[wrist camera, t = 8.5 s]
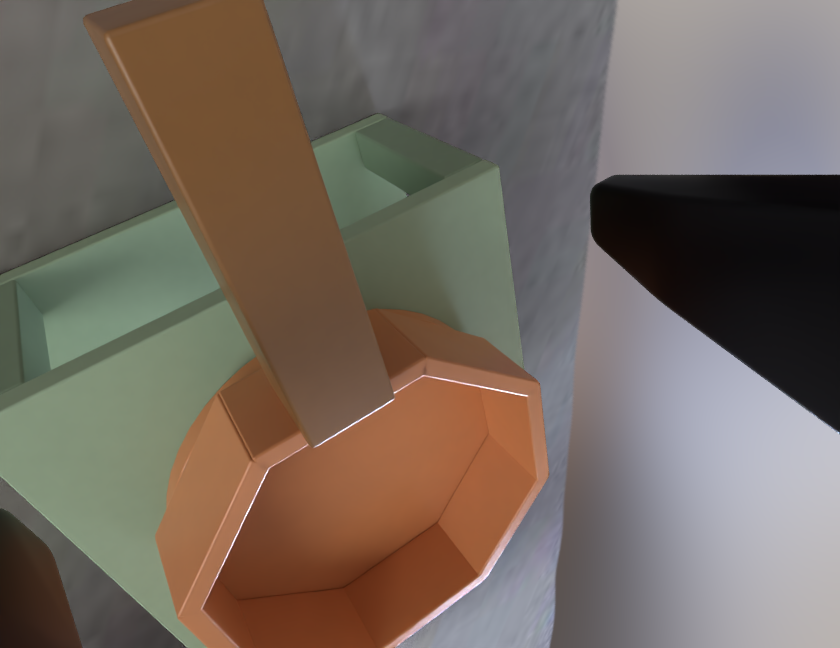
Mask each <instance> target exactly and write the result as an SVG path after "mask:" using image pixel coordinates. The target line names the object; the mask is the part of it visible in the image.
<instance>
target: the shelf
mask: <svg viewBox="0 0 840 648" xmlns="http://www.w3.org/2000/svg"><path fill="white" fill-rule="evenodd" d="M311 145H312V148H313V151H314V154H315V157H316V160H317V163H318V166H319V169H320V172H321V175H322V178H323V181H324V184H325V187H326V190H327V193H328V196H329V199H330V202H331V205H332V208H333V211H334V214H335V217H336V220H337V223H338V226H339V229H340V232H341V235H342V238H343V241H344V244H345V247H346V250H347V253H348V256H349V259H350V262H351V265H352V268H353V271H354V274H355V277H356V280H357V283H358V286H359V289H360V292H361V295H362V298H363V301H364V304H365V307H366V310H371V309H375V308H378V309H396V310H407V311H412V312H417V313H421V314H425V315H427V316H430V317H432V318H435V319H438V320H440V321H441V322H443V323H444V324H446V325H448V326H449V327H451V328H453V329H454V330H457V331H460V332H464V333H467V334H471V335H474V336H478V337H482V338H484V339H486V340H487V341H488V342H490V343H491V344H492V345H493V346H495V347H496V348H497V349H498V350H500V351H501V352H502V353H503V354H505V355H506V356H507V357H508V358H510V359H511V360H512V361H513V362H515V363H516V364H517V365H518V366H520V367H521V368H522V369H523V370H524V364H523V356H522V348H521V340H520V332H519V324H518V316H517V308H516V300H515V292H514V284H513V276H512V268H511V260H510V252H509V244H508V236H507V228H506V220H505V212H504V204H503V196H502V188H501V180H500V172H499V166H498V165H496V164H494V163H491V162H489V161H487V160H482V159H481V158H479V157H477V156H474V155H472V154H470V153H467V152H465V151H463V150H461V149H458V148H456V147H454V146H451V145H449V144H447V143H445V142H442V141H440V140H438V139H436V138H433V137H431V136H429V135H426V134H424V133H422V132H420V131H417V130H415V129H413V128H410V127H408V126H406V125H404V124H401V123H399V122H397V121H394V120H392V119H390V118H387V117H386V116H384V115H382V114H379V113H377V114H375V115H373V116H370V117H368V118H366V119H363V120H361V121H359V122H356V123H354V124H352V125H349V126H347V127H345V128H342V129H340V130H338V131H335V132H333V133H331V134H328V135H326V136H324V137H321V138H319V139H317V140H314V141H312V142H311ZM405 192H406V193H408V194H409V195H410V196H408V197H406V193H405ZM255 357H256V355H255V353H254V352H253V350H252V348H251V346H250V344H249V342H248V340H247V338H246V336H245V334H244V332H243V330H242V328H241V326H240V324H239V323H238V321H237V319H236V317H235V315H234V313H233V311H232V309H231V307H230V305H229V303H228V301H227V299H226V297H225V296H224V294H223V292H222V290H221V288H220V286H219V284H218V282H217V280H216V278H215V276H214V274H213V272H212V270H211V269H210V267H209V265H208V263H207V261H206V259H205V257H204V255H203V253H202V251H201V249H200V247H199V245H198V243H197V242H196V240H195V238H194V236H193V234H192V232H191V230H190V228H189V226H188V224H187V222H186V220H185V218H184V216H183V214H182V213H181V211H180V209H179V207H178V205H177V203H176V201H175V200H174V201H172V202H170V203H167V204H165V205H163V206H160V207H158V208H156V209H153V210H151V211H149V212H146V213H144V214H141V215H139V216H137V217H134V218H132V219H130V220H127V221H125V222H123V223H120V224H118V225H116V226H113V227H111V228H109V229H106V230H104V231H102V232H99V233H97V234H95V235H92V236H90V237H88V238H85V239H83V240H81V241H78V242H76V243H74V244H71V245H69V246H67V247H64V248H62V249H60V250H57V251H55V252H53V253H50V254H48V255H46V256H43V257H41V258H39V259H36V260H34V261H32V262H29V263H27V264H25V265H22V266H20V267H18V268H15V269H13V270H11V271H8V272H6V273H4V274H1V275H0V476H1V477H2V478H3V479H4V480H5V481H6V482H7V483H8V484H9V485H11V486H12V487H13V488H14V489H15V490H16V491H17V492H18V493H19V494H20V495H21V496H23V497H24V498H25V499H26V500H27V501H28V502H29V503H30V504H31V505H32V506H33V507H34V508H36V509H37V510H38V511H39V512H40V513H41V514H42V515H43V516H44V517H45V518H46V519H48V520H49V521H50V522H51V523H52V524H53V525H54V526H55V527H56V528H57V529H58V530H60V531H61V532H62V533H63V534H64V535H65V536H66V537H67V538H68V539H69V540H70V541H72V542H73V543H74V544H75V545H76V546H77V547H78V548H79V549H80V550H81V551H82V552H84V553H85V554H86V555H87V556H88V557H89V558H90V559H91V560H92V561H93V562H94V563H96V564H97V565H98V566H99V567H100V568H101V569H102V570H103V571H104V572H105V573H106V574H107V575H109V576H110V577H111V578H112V579H113V580H114V581H115V582H116V583H117V584H118V585H119V586H121V587H122V588H123V589H124V590H125V591H126V592H127V593H128V594H129V595H130V596H131V597H133V598H134V599H135V600H136V601H137V602H138V603H139V604H140V605H141V606H142V607H143V608H145V609H146V610H147V611H148V612H149V613H150V614H151V615H152V616H153V617H154V618H155V619H157V620H158V621H159V622H160V623H161V624H162V625H163V626H164V627H165V628H166V629H167V630H169V631H170V632H171V633H172V634H173V635H174V636H175V637H176V638H177V639H178V640H179V641H181V642H182V643H183V644H184V645H185V646H186V647H187V648H207V647H206V646H205V645H204V644H203V643H202V642H201V641H200V640H199V639H198V638H197V637H196V636H195V635H194V634H193V633H192V632H191V631H190V630H189V629H188V628H187V627H186V626H185V625H184V624H182V623H181V622H180V621H179V620H178V618H177V615H176V611H175V608H174V604H173V601H172V597H171V593H170V590H169V586H168V583H167V579H166V576H165V572H164V569H163V565H162V561H161V558H160V554H159V551H158V547H157V544H156V540H155V534H156V532H157V530H158V527H159V525H160V523H161V521H162V518H163V516H164V514H165V511H166V496H167V489H168V484H169V478H170V473H171V470H172V467H173V464H174V461H175V459H176V456H177V453H178V450H179V448H180V446H181V444H182V442H183V440H184V438H185V436H186V434H187V432H188V430H189V429H190V427H191V425H192V424H193V422H194V421H195V420H196V418H197V417H198V415H199V414H200V412H201V411H202V409H203V408H204V406H205V405H206V404H207V403H208V402H209V400H210V399H211V398H212V397H213V396H214V395H215V394H216V392H217V391H218V390H219V389H220V388H221V387H222V385H223V384H225V383H226V382H227V381H228V380H229V379H230V378H231V377H232V376H233V375H234V374H235V373H236V372H237V371H239V370H240V369H241V368H242V367H243V366H244V365H245V364H247V363H248V362H249V361H251V360H252V359H253V358H255Z"/></svg>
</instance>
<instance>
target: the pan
mask: <svg viewBox="0 0 840 648" xmlns="http://www.w3.org/2000/svg"><path fill="white" fill-rule="evenodd" d="M83 22H84V25H85V27H86V29H87V31H88V33H89V35H90V37H91V39H92V41H93V43H94V45H95V47H96V49H97V50H98V52H99V54H100V56H101V58H102V60H103V62H104V64H105V66H106V68H107V70H108V72H109V74H110V76H111V77H112V79H113V81H114V83H115V85H116V87H117V89H118V91H119V93H120V95H121V97H122V99H123V101H124V103H125V104H126V106H127V108H128V110H129V112H130V114H131V116H132V118H133V120H134V122H135V124H136V126H137V128H138V130H139V132H140V133H141V135H142V137H143V139H144V141H145V143H146V145H147V147H148V149H149V151H150V153H151V155H152V157H153V159H154V160H155V162H156V164H157V166H158V168H159V170H160V172H161V174H162V176H163V178H164V180H165V182H166V184H167V186H168V187H169V189H170V191H171V193H172V195H173V197H174V199H175V201H176V203H177V205H178V207H179V209H180V211H181V213H182V214H183V216H184V218H185V220H186V222H187V224H188V226H189V228H190V230H191V232H192V234H193V236H194V238H195V240H196V242H197V243H198V245H199V247H200V249H201V251H202V253H203V255H204V257H205V259H206V261H207V263H208V265H209V267H210V269H211V270H212V272H213V274H214V276H215V278H216V280H217V282H218V284H219V286H220V288H221V290H222V292H223V294H224V296H225V297H226V299H227V301H228V303H229V305H230V307H231V309H232V311H233V313H234V315H235V317H236V319H237V321H238V323H239V324H240V326H241V328H242V330H243V332H244V334H245V336H246V338H247V340H248V342H249V344H250V346H251V348H252V350H253V352H254V353H255V355H256V357H255V358H253V359H252V360H251V361H249V362H248V363H247V364H245V365H244V366H243V367H242V368H241V369H240V370H239V371H237V372H236V373H235V374H234V375H233V376H232V377H231V378H230V379H229V380H228V381H227V382H226V383H225V384H223V385H222V387H221V388H220V389H219V390H218V391H217V392H216V394H215V395H214V396H213V397H212V398H211V399H210V400H209V402H208V403H207V404H206V405H205V406H204V408H203V409H202V411H201V412H200V414H199V415H198V417H197V418H196V420H195V421H194V422H193V424H192V425H191V427H190V429H189V430H188V432H187V434H186V436H185V438H184V440H183V442H182V444H181V446H180V448H179V450H178V453H177V456H176V459H175V461H174V464H173V467H172V470H171V473H170V478H169V484H168V489H167V496H166V511H165V514H164V516H163V518H162V521H161V523H160V525H159V527H158V530H157V532H156V534H155V540H156V544H157V547H158V551H159V554H160V558H161V561H162V565H163V569H164V572H165V576H166V579H167V583H168V586H169V590H170V593H171V597H172V601H173V604H174V608H175V611H176V615H177V618H178V620H179V621H180V622H181V623H182V624H184V625H185V626H186V627H187V628H188V629H189V630H190V631H191V632H192V633H193V634H194V635H195V636H196V637H197V638H198V639H199V640H200V641H201V642H202V643H203V644H204V645H205V646H206V647H207V648H395V647H397V646H398V645H399V644H401V643H402V642H403V641H405V640H406V639H407V638H409V637H410V636H411V635H412V634H414V633H415V632H416V631H418V630H419V629H420V628H422V627H423V626H424V625H426V624H427V623H428V622H430V621H431V620H432V619H434V618H435V617H436V616H438V615H439V614H440V613H442V612H443V611H444V610H446V609H447V608H448V607H450V606H451V605H452V604H454V603H455V602H456V601H458V600H459V599H460V598H461V597H463V596H464V595H465V594H467V593H468V592H469V591H471V590H472V589H473V588H475V587H476V586H477V585H479V584H480V583H481V582H483V581H484V580H485V578H487V576H488V575H489V573H490V572H491V570H492V568H493V567H494V565H495V563H496V562H497V560H498V558H499V557H500V555H501V554H502V552H503V550H504V549H505V547H506V545H507V544H508V542H509V541H510V539H511V537H512V536H513V534H514V532H515V531H516V529H517V528H518V526H519V524H520V523H521V521H522V519H523V518H524V516H525V515H526V513H527V511H528V510H529V508H530V506H531V505H532V503H533V502H534V500H535V498H536V497H537V495H538V493H539V492H540V490H541V489H542V487H543V485H544V484H545V482H546V480H547V479H548V477H549V467H548V457H547V447H546V438H545V428H544V419H543V409H542V400H541V390H540V383H539V382H538V381H537V380H536V379H535V378H534V377H532V376H531V375H530V374H528V373H527V372H526V371H525V370H523V369H522V368H521V367H520V366H518V365H517V364H516V363H515V362H513V361H512V360H511V359H510V358H508V357H507V356H506V355H505V354H503V353H502V352H501V351H500V350H498V349H497V348H496V347H495V346H493V345H492V344H491V343H490V342H488V341H487V340H486V339H484V338H482V337H478V336H474V335H471V334H467V333H464V332H460V331H457V330H454V329H453V328H451V327H449V326H448V325H446V324H444V323H443V322H441V321H440V320H438V319H435V318H432V317H430V316H427V315H425V314H421V313H417V312H412V311H407V310H396V309H378V308H375V309H371V310H366V307H365V304H364V301H363V298H362V295H361V292H360V289H359V286H358V283H357V280H356V277H355V274H354V271H353V268H352V265H351V262H350V259H349V256H348V253H347V250H346V247H345V244H344V241H343V238H342V235H341V232H340V229H339V226H338V223H337V220H336V217H335V214H334V211H333V208H332V205H331V202H330V199H329V196H328V193H327V190H326V187H325V184H324V181H323V178H322V175H321V172H320V169H319V166H318V163H317V160H316V157H315V154H314V151H313V148H312V145H311V142H310V139H309V136H308V133H307V130H306V127H305V124H304V121H303V118H302V115H301V112H300V109H299V106H298V103H297V100H296V97H295V94H294V91H293V88H292V85H291V82H290V79H289V76H288V73H287V70H286V67H285V64H284V61H283V58H282V55H281V52H280V49H279V46H278V43H277V40H276V37H275V34H274V31H273V28H272V25H271V22H270V19H269V16H268V13H267V10H266V7H265V4H264V1H263V0H132V1H129V2H126V3H123V4H119V5H116V6H113V7H110V8H107V9H104V10H100V11H97V12H94V13H91V14H88V15H86V16H85V17H84V18H83Z"/></svg>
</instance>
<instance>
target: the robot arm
mask: <svg viewBox="0 0 840 648" xmlns="http://www.w3.org/2000/svg"><path fill="white" fill-rule="evenodd" d="M590 218H591V234H592V237H593V239H594V241H595V242H596V243H597V245H598V246H600V247H601V248H602V249H603V250H604V251H605V252H606V253H607V254H608V255H609V256H610V257H612V258H613V259H614V260H615V261H616V262H617V263H618V264H619V265H620V266H622V267H623V268H624V269H625V270H626V271H627V272H628V273H629V274H630V275H632V277H634V278H635V279H636V280H637V281H638V282H639V283H640V284H641V285H642V286H644V287H645V288H646V289H647V290H648V291H649V292H650V293H651V294H653V295H654V296H655V297H656V298H657V299H658V300H659V301H661V302H662V303H663V304H664V305H666V306H667V307H668V308H670V309H671V310H672V311H674V312H675V313H676V314H678V315H679V316H680V317H682V318H683V319H684V320H686V321H687V322H688V323H690V324H691V325H692V326H694V327H695V328H697V329H698V330H699V331H701V332H702V333H703V334H705V335H706V336H707V337H709V338H710V339H711V340H713V341H714V342H715V343H717V344H718V345H719V346H721V347H722V348H724V349H725V350H726V351H728V352H729V353H730V354H732V355H733V356H734V357H736V358H737V359H738V360H740V361H741V362H742V363H744V364H745V365H747V366H748V367H749V368H751V369H752V370H753V371H755V372H756V373H757V374H759V375H760V376H761V377H763V378H764V379H765V380H767V381H768V382H770V383H771V384H772V385H774V386H775V387H776V388H778V389H779V390H781V391H782V392H783V393H785V394H786V395H787V396H789V397H790V398H791V399H793V400H794V401H795V402H797V403H798V404H799V405H801V406H802V407H804V408H805V409H806V410H808V411H809V412H810V413H812V414H813V415H814V416H816V417H817V418H818V419H820V420H821V421H822V422H824V423H825V424H826V425H828V426H829V427H831V428H832V429H833V430H835V431H836V432H837V433H839V434H840V175H614V176H611V177H609V178H607V179H605V180H603V181H601V182H600V183H598V184H596V185H595V186H594V187H593V188H592V191H591V193H590ZM0 648H82V645H81V641H80V638H79V635H78V632H77V629H76V625H75V622H74V619H73V616H72V613H71V610H70V606H69V603H68V600H67V597H66V594H65V590H64V587H63V584H62V581H61V578H60V575H59V571H58V568H57V565H56V562H55V559H54V557H53V555H52V553H51V551H50V549H49V548H48V546H47V545H46V544H45V543H44V542H43V541H42V540H41V539H40V538H39V537H37V536H36V535H35V534H34V533H33V532H32V531H30V530H29V529H28V528H27V527H26V526H25V525H24V524H22V523H21V522H20V521H19V520H18V519H17V518H16V517H14V516H13V515H12V514H11V513H10V512H8V511H6V510H4V509H0Z"/></svg>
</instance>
